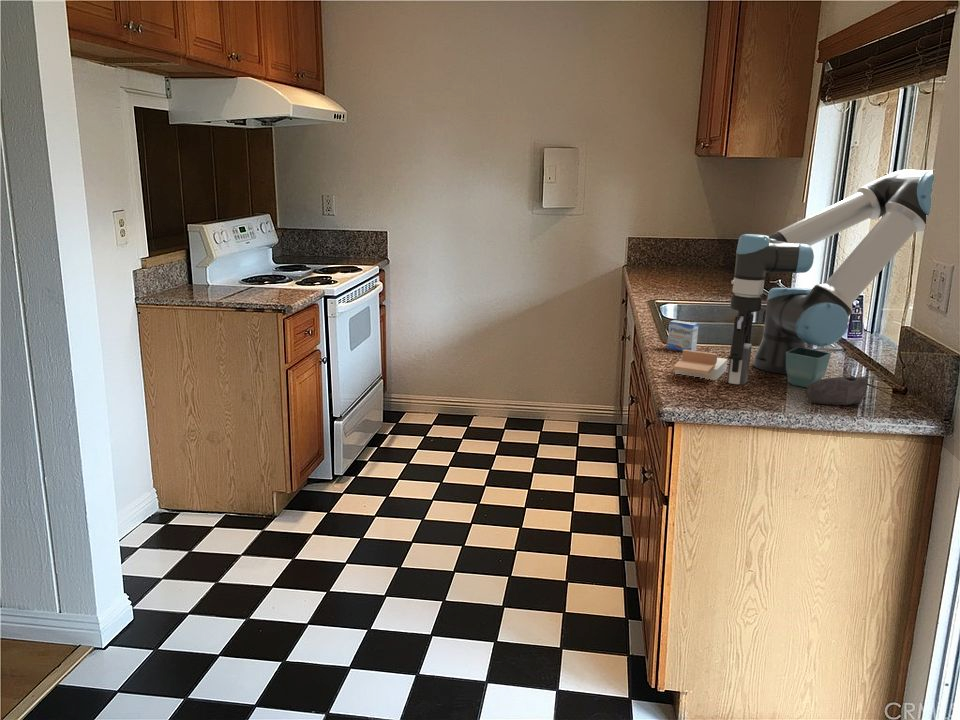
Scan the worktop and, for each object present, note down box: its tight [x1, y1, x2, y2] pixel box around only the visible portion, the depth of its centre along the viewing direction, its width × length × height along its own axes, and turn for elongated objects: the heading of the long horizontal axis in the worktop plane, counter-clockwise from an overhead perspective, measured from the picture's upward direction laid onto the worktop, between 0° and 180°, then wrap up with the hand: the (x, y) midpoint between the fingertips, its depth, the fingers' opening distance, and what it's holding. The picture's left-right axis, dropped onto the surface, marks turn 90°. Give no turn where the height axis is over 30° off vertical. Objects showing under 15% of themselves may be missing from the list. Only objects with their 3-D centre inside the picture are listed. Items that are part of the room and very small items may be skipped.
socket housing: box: [674, 357, 729, 381], centre depth 221 cm, size 11×14×3 cm
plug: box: [726, 343, 752, 385], centre depth 212 cm, size 4×4×10 cm
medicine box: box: [666, 319, 700, 352], centre depth 247 cm, size 8×4×9 cm, turn 55°
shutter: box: [672, 349, 718, 374], centre depth 213 cm, size 9×10×3 cm
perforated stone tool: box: [805, 376, 868, 406], centre depth 195 cm, size 15×5×7 cm, turn 89°
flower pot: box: [786, 347, 832, 388], centre depth 211 cm, size 9×9×9 cm
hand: (736, 380), depth 214 cm, fingers open, 7 cm apart
